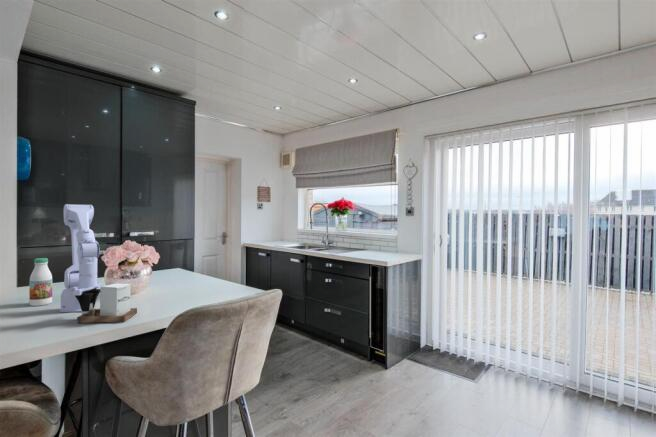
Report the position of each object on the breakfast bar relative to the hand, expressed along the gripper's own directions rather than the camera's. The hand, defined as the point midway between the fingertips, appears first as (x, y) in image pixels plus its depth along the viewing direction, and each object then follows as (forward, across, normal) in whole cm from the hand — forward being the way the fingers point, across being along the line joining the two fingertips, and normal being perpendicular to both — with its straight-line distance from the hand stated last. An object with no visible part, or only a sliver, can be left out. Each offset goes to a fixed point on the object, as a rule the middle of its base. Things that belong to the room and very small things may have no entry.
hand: (87, 309), depth 130 cm
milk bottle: (+4, +24, +31) cm, 39 cm away
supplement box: (+3, 0, -10) cm, 10 cm away
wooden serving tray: (+3, 0, -7) cm, 8 cm away
